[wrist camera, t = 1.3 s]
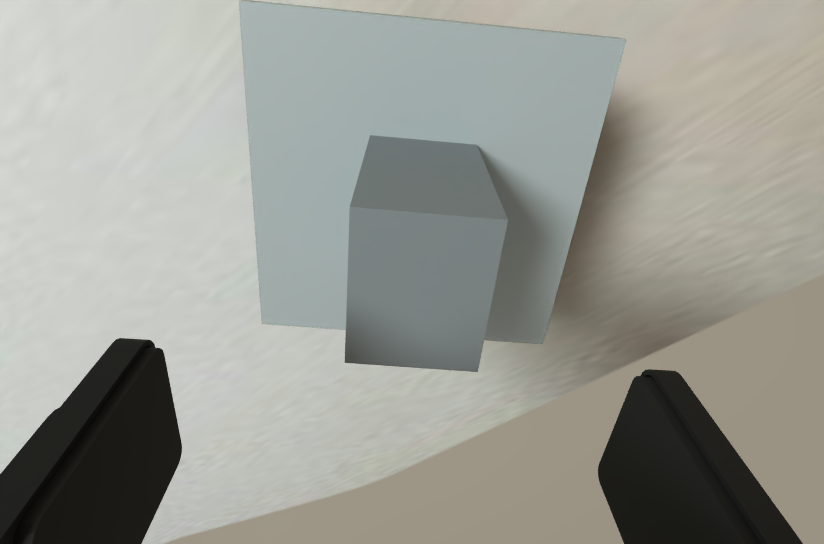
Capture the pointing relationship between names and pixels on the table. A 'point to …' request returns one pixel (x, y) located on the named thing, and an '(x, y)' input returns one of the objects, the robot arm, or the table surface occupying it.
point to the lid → (417, 175)
